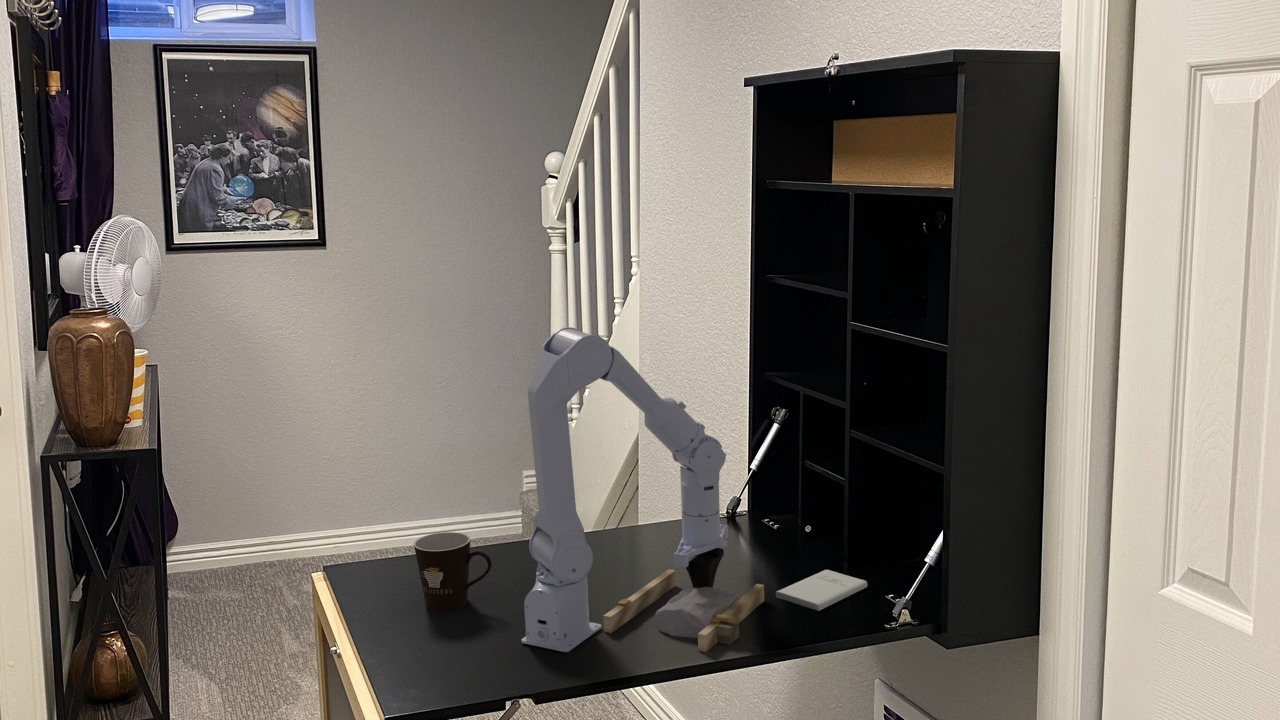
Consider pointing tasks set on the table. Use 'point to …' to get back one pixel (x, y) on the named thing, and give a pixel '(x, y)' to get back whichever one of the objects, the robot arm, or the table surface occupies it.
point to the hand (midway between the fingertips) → (703, 596)
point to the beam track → (716, 632)
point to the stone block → (693, 610)
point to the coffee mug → (446, 569)
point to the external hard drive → (821, 589)
